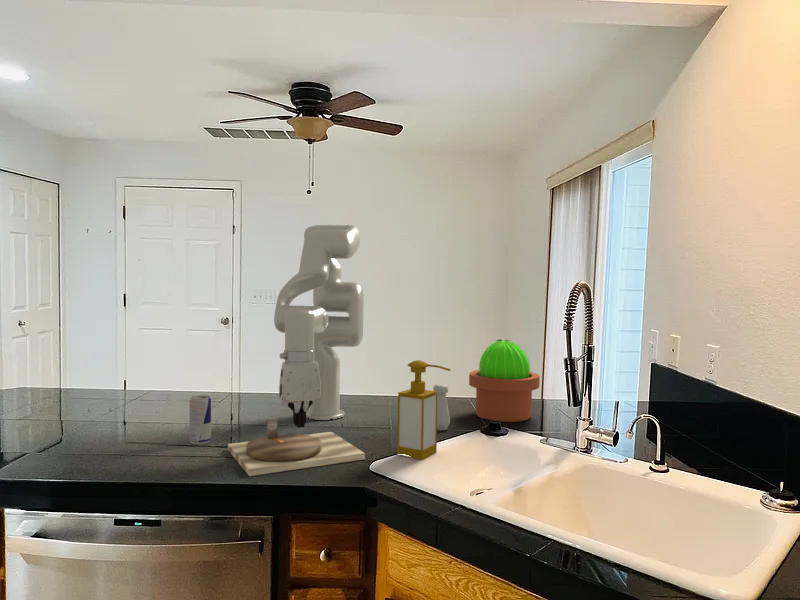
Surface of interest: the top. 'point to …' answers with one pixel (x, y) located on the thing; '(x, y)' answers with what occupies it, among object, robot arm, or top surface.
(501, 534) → the top surface
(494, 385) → the potted cactus
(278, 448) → the dial
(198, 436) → the energy drink
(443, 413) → the salt shaker
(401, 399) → the soap bottle
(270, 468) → the wooden cutting board
